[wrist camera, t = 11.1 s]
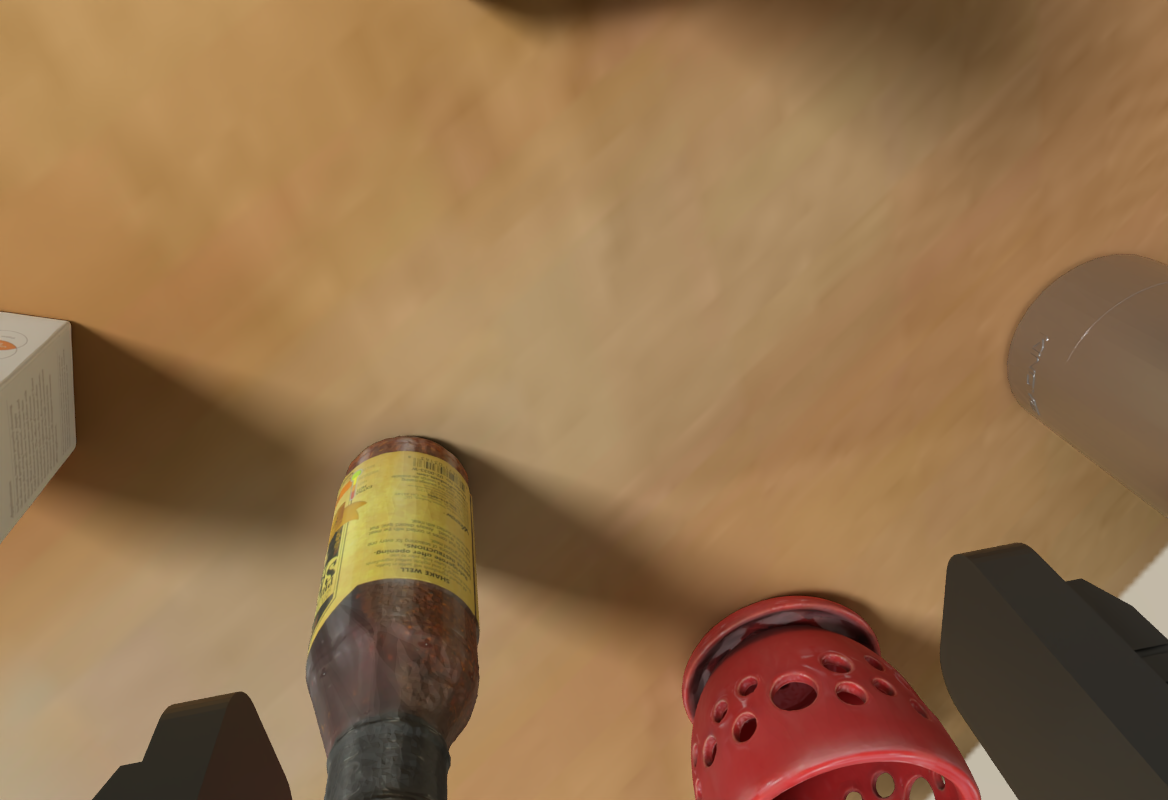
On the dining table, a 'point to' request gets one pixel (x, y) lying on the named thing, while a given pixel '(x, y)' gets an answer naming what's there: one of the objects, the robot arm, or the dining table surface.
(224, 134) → the dining table surface
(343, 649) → the sauce bottle
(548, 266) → the dining table surface
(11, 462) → the small box
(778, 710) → the plant pot
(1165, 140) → the dining table surface
